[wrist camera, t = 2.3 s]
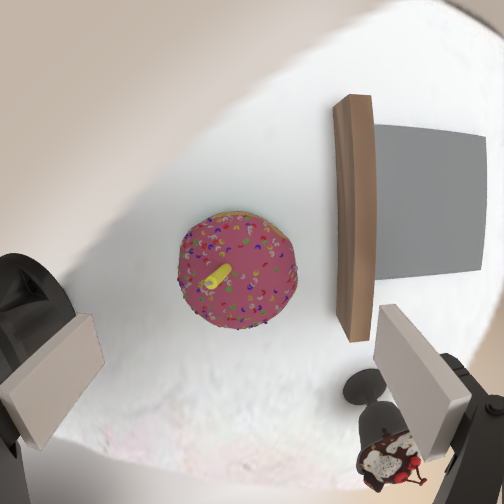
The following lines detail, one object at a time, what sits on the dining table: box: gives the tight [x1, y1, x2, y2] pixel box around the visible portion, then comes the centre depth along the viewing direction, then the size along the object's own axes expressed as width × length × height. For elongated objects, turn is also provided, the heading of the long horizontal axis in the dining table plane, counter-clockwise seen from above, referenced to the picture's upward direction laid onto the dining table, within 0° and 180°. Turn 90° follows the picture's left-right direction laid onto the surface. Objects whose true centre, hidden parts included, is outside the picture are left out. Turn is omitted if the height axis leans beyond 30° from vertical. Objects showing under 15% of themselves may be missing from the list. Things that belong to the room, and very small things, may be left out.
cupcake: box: [177, 212, 298, 330], centre depth 21 cm, size 9×8×12 cm
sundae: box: [343, 369, 427, 493], centre depth 23 cm, size 7×7×15 cm
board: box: [374, 125, 487, 280], centre depth 25 cm, size 13×13×1 cm
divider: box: [333, 94, 377, 343], centre depth 23 cm, size 2×18×5 cm, turn 3°
